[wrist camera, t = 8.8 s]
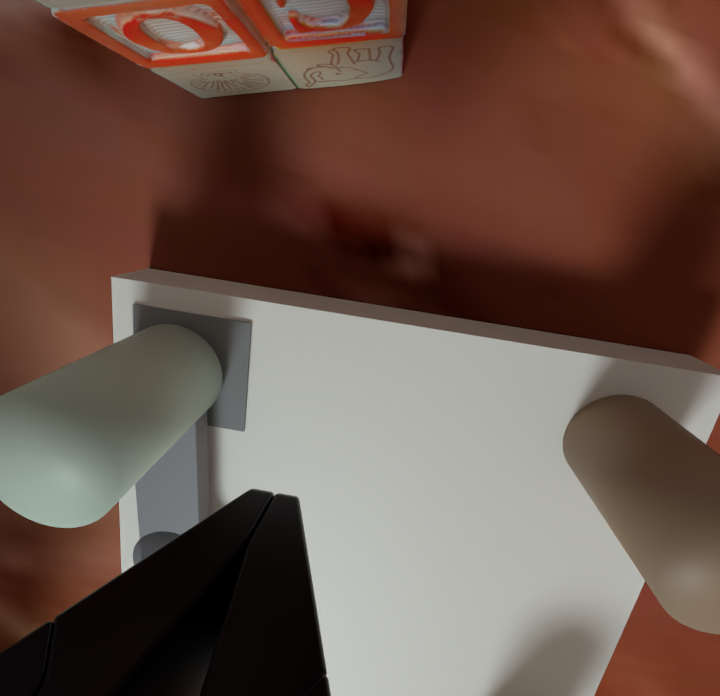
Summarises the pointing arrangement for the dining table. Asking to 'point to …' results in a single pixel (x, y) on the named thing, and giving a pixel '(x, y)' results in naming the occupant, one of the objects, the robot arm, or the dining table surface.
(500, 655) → the stool seat
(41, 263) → the dining table surface
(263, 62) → the stack of blocks
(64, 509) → the hinged leg
